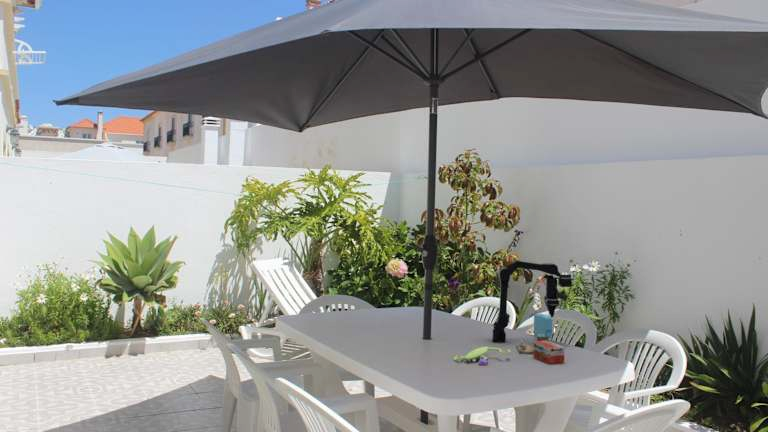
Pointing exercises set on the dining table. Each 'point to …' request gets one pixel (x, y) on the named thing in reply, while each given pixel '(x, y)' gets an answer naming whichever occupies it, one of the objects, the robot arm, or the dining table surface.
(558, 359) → the medicine box
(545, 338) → the drive
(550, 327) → the data package
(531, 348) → the pin tray
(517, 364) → the dining table surface
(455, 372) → the dining table surface
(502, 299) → the robot arm
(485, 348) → the figurine
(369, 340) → the dining table surface
